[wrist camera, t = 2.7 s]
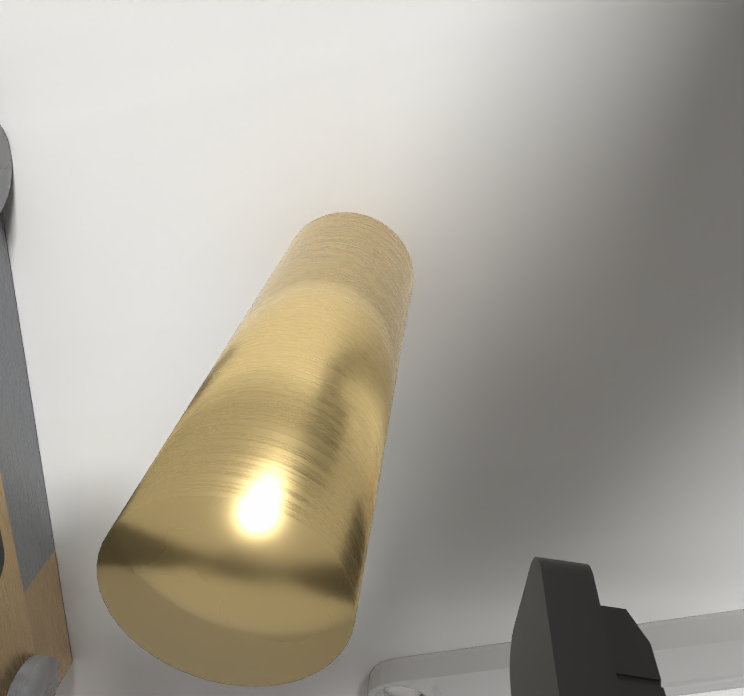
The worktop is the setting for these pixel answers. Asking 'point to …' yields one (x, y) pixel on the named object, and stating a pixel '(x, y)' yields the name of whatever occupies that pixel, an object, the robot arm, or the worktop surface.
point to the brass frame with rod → (24, 513)
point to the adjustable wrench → (668, 637)
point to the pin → (271, 472)
